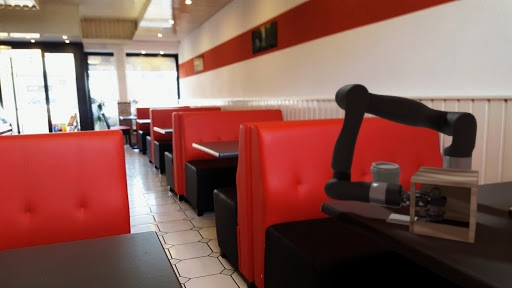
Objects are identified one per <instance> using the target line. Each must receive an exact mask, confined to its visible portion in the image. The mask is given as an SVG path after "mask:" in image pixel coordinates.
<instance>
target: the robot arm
mask: <svg viewBox="0 0 512 288" xmlns="http://www.w3.org/2000/svg"><path fill="white" fill-rule="evenodd" d="M334 101H335V103H336V105H337V106H338V108H340V109H341V110H343V111H344V117H343V122H342V123H343V124H342V126H341V129H340V132H339V134H338V135H337V139H336V141H335V142H334V146H333V148H332V149H333V150H332V155H331V156H332V157H331V163H330V167H331V169H332V178H331V179H329V180H328V181H327V182H326V183H325V184H324V187H323V192H324V195H325V196H326V197H328V199H330V200H333V201H341V202H343V201H345V202H359V203H364V204H372V205H375V206H381V207H387V208H388V207H389V208H395V209H396V208H397V209H401V208H402V206H403V204H405V205H406V207H407V208H410V191H411V189H409V190H404V186H403V184H401V183H399V184H393V183H383V182H373V181H364V180H359V181H357V180H356V181H352V167H353V161H354V156H355V151H356V147H357V146H356V145H357V141H358V136H359V134H360V130H361V127H362V124H363V121H364V118H365V114H368V115H372V116H375V117H378V118H379V119H383V120H386V121H390V122H393V123H395V124H399V125H404V126H408V127H413V128H414V127H415V128H424V129H427V130H428V129H429V130H432V131H435V132H437V133H440V134H442V135H445V136H448V137H452V138H451V144H449V145H448V146H445V147H444V148H443V151H442V152H443V153H442V154H443V157H442V168H448V169H463V170H473V166H472V164H473V152H474V150H475V148H476V143H477V134H478V121H477V118H476V117H475V115H474V114H473V113H471V112H467V111H449V110H440V109H435V108H432V107H429V106H428V105H427V104H425V103H423V102H421V101H418V100H415V99H412V98H408V97H403V96H399V95H391V94H379V93H378V94H377V93H372V92H370V91H369V89H368V88H367V87H366V86H365V85H364V84H361V83H351V84H346V85H345V84H344V85H343V86H341V87H339V88H338V89H337V91H336V92H335V94H334ZM425 196H427V197H425ZM430 196H431V192H427V191H422V190H420V189H417V188H416V198H415V208H420V207H422V208H427V207H429V206H437V207H445V205H446V203H447V197H446V196H441V199H436V198H432V199H431V198H430Z"/></svg>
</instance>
